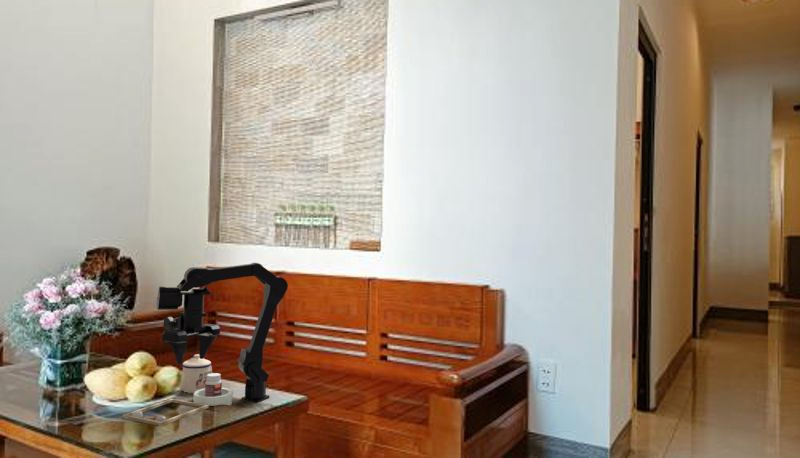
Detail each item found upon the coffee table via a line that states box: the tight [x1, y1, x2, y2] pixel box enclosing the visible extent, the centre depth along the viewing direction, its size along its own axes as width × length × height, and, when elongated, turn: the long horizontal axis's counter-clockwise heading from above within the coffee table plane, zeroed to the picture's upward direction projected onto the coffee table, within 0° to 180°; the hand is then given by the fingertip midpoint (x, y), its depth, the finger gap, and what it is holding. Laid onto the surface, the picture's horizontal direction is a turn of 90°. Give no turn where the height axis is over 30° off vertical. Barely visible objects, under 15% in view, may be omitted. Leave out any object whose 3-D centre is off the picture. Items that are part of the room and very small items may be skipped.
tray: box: [121, 398, 209, 427], centre depth 167 cm, size 18×14×2 cm
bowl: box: [192, 387, 234, 407], centre depth 180 cm, size 11×11×4 cm
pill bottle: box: [205, 372, 223, 397], centre depth 180 cm, size 5×5×8 cm
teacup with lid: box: [181, 353, 213, 394], centre depth 197 cm, size 12×9×12 cm
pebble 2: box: [154, 415, 167, 422], centre depth 160 cm, size 3×3×3 cm
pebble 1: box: [132, 410, 144, 418], centre depth 163 cm, size 3×3×3 cm
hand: (190, 361), depth 178 cm, fingers open, 9 cm apart
